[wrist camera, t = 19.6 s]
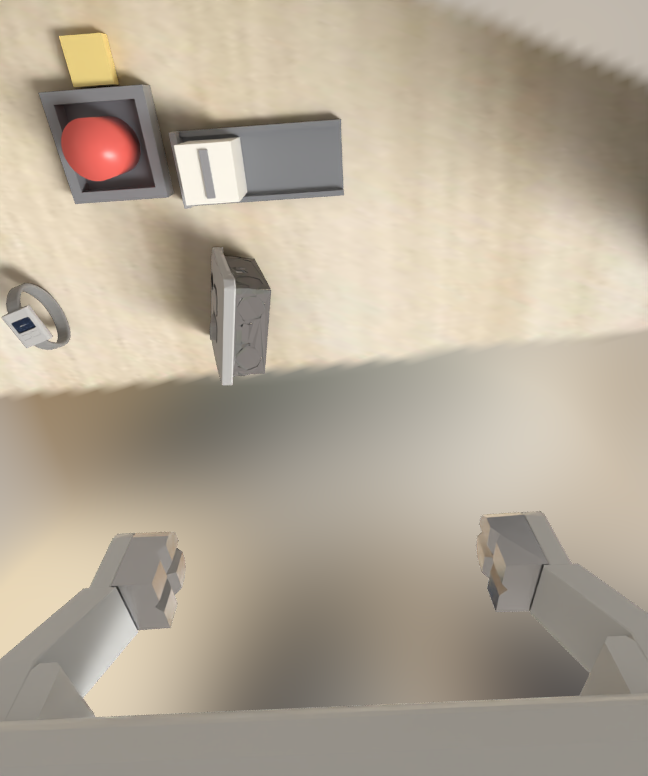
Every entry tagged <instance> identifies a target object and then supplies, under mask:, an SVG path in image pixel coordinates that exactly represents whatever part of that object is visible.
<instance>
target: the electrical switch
mask: <svg viewBox="0 0 648 776" xmlns="http://www.w3.org/2000/svg"><path fill="white" fill-rule="evenodd" d="M259 289H270V287H269V285H268V283H267V281H266V279H265V277H264V276H263V274H262V272H261V270H260V268H259V266H258V265H257V263H256V261H255V259H248V258H241V257H228V256H224V254H223V247H213V248H212V255H211V322H210V340H212V345H213V350H214V355H215V360H216V365H217V369H218V373H219V377H220V381H221V384H222V385H232V384H233V376H246V375H249V374H264V373H265V363H266V350H267V336H268V323H269V310H270V297H271V290H259ZM264 303H265V304H264ZM250 323H252V324H250ZM261 357H262V358H261ZM260 359H261V360H260Z"/></svg>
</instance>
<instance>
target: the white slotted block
mask: <svg viewBox="0 0 648 776" xmlns="http://www.w3.org/2000/svg"><path fill="white" fill-rule="evenodd" d="M174 149H175V154H176V158H177V163H178V168H179V172H180V177H181V182H182V187H183V191H184V196H185V201H186V206H188V205H202V204H217V203H231V202H240V201H241V199H242V198H243V197H244V196H245V194H246V193H247V185H246V178H245V171H244V164H243V157H242V150H241V142H240V137H234V138H221V139H207V140H194V141H187V142H184V143H180V144H177V145H174Z"/></svg>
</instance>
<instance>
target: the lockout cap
mask: <svg viewBox="0 0 648 776" xmlns="http://www.w3.org/2000/svg"><path fill="white" fill-rule="evenodd" d="M61 146H62V151H63V154H64V156H65V159H66V160H67V162H68V164H69V165H70V166H71V168H72V169H73V170H74V171H75V172H77V173H78V174H79V175H80V176H82V177H84V178H86V179H88V180H92V181H104V180H107V179H110V178H112V177H115V176H118V175H121V174H123V173H126V172H129V171H131V170H132V169H134V168H135V167H136V165H137V164H138V162H139V159H140V154H141V148H140V143H139V140H138V137H137V135H136V133H135V132H134V130H133V129H132V128H131V127H130V126H129V125H128V124H127V123H126V122H124V121H123V120H121V119H119V118H116V117H112V116H102V117H87V118H77V119H74V120H72V121H71V122H69V123H68V124H67V125H66V126H65V128H64V130H63V132H62V137H61Z"/></svg>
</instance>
